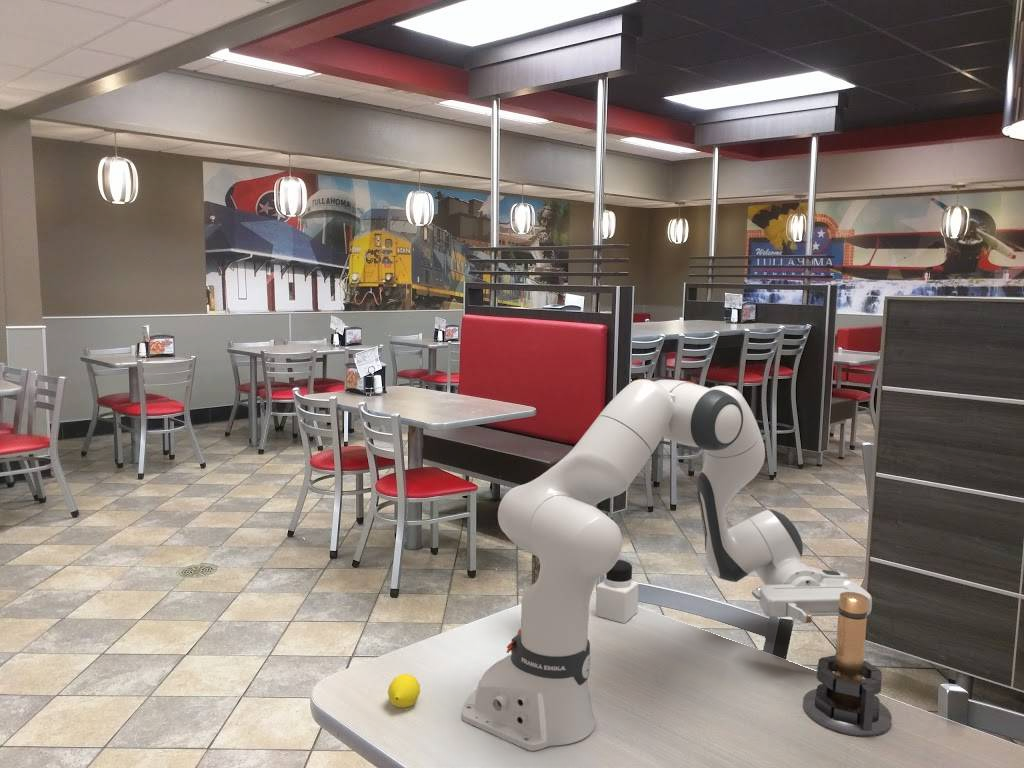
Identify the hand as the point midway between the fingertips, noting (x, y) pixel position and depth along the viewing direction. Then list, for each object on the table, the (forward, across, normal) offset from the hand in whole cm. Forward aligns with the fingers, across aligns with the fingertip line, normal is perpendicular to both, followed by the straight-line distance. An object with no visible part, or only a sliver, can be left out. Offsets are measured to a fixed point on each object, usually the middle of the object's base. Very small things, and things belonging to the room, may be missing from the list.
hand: (833, 618), depth 140 cm
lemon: (+1, -76, +14) cm, 78 cm away
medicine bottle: (-35, -32, +14) cm, 49 cm away
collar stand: (+7, 0, +14) cm, 16 cm away
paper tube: (-26, -48, +14) cm, 57 cm away
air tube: (+7, 0, +13) cm, 15 cm away
